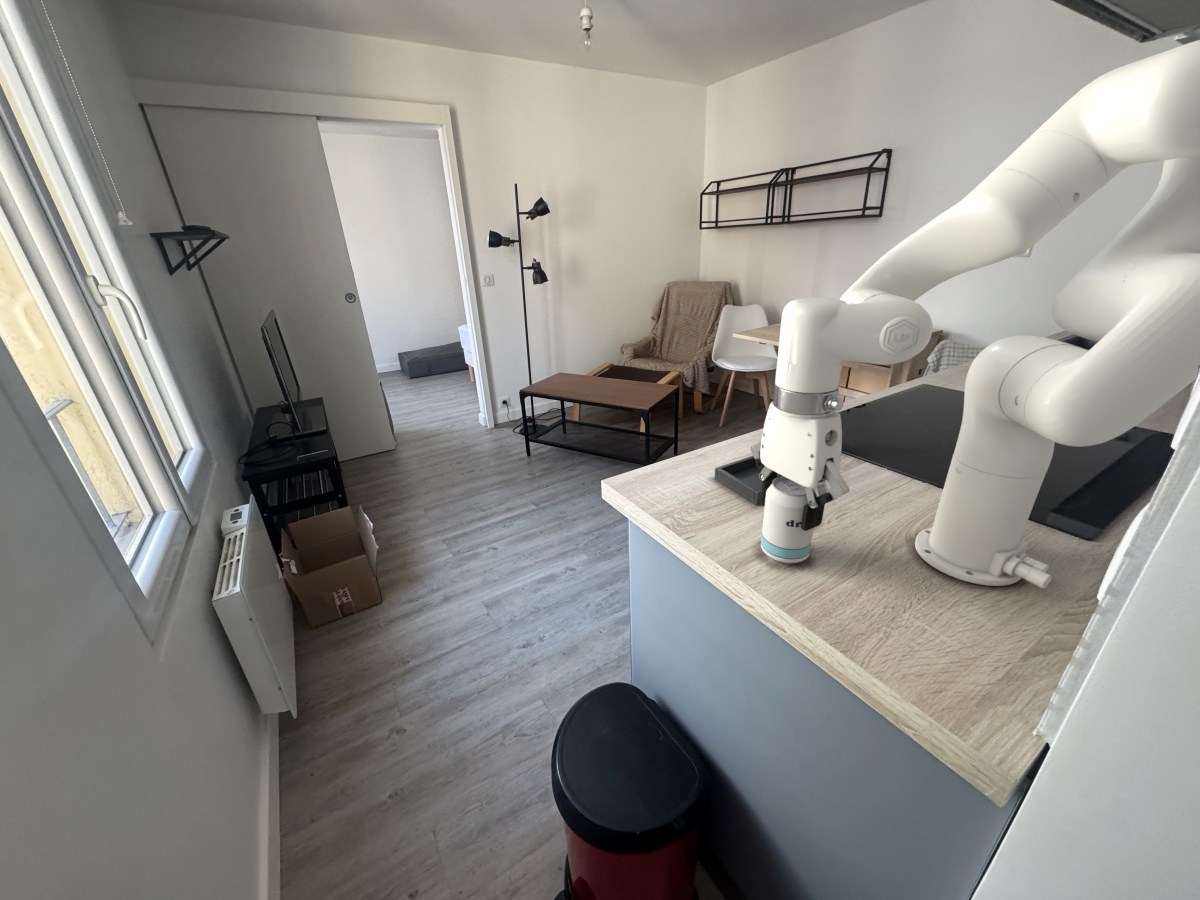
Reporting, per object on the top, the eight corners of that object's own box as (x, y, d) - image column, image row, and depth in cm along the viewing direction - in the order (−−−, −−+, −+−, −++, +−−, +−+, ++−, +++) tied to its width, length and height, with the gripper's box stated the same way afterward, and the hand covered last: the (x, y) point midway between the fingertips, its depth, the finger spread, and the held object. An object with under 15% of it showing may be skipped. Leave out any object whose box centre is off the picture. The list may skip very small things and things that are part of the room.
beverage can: (778, 572, 67) (787, 501, 62) (751, 545, 73) (757, 478, 68) (819, 561, 69) (831, 491, 64) (789, 536, 75) (797, 469, 70)
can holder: (803, 487, 88) (805, 475, 87) (756, 505, 83) (758, 493, 82) (758, 464, 97) (759, 453, 96) (714, 479, 93) (714, 467, 92)
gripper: (887, 411, 55) (860, 536, 62) (774, 377, 69) (764, 483, 77) (843, 425, 52) (821, 555, 59) (735, 387, 66) (728, 495, 74)
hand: (789, 513), depth 68 cm, fingers closed on beverage can, 7 cm apart
